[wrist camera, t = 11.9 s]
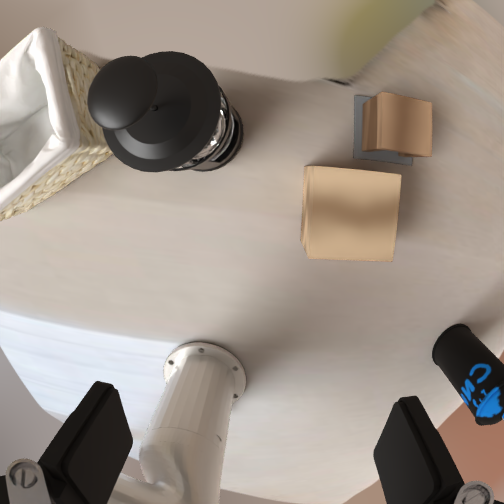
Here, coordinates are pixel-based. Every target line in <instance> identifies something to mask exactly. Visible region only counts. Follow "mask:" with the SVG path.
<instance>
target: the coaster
mask: <svg viewBox="0 0 504 504" xmlns="http://www.w3.org/2000/svg"><path fill="white" fill-rule="evenodd" d="M370 99H371V97H364V96H358V95H355V96H354V154H353V158H357V159H366V160H374V161H382V162H390V163H397V164H404V165H411V166H412V157H401V156H398V152H396V151H389V150H381V151H373V152H366V151H362V112H363V103H365V102H366V101H368V100H370Z"/></svg>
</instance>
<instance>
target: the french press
mask: <svg viewBox="0 0 504 504" xmlns="http://www.w3.org/2000/svg"><path fill="white" fill-rule="evenodd" d="M220 92H221V93H220ZM221 94H222V95H223V97H224V99H223V98H222V97H221ZM87 105H88V110H89V113H90V115H91V117H92V119H93V120H94V121H95V123H97V124H98V125H99V126H100V127H102V129H103V134H104V138H105V140H106V142H107V144H108V147H109V148H110V150H111V151H112V152H113V154H114V155H115V156H116V157H117V158H118V159H119V160H120V161H121V162H123V163H124V164H126V165H128V166H129V167H131V168H133V169H137V170H140V171H144V172H162V171H182V170H194V171H202V172H205V171H212V170H215V169H219V168H220V167H222V166H224V165H226V164H227V163H228V162H230V161H231V160H232V159H233V158H234V156H235V155H236V154H237V152H238V150H239V149H240V147H241V144H242V140H243V124H242V121H241V118H240V116H239V114H238V112H237V111H236V110H235V109H234V107H233V106H232V105H231V104H230V102H229V101H228V99H227V97H226V96H225V94H224V92H223V91H222V89H221V88H220V87H219V86H218V83H217V81H216V79H215V78H214V76H213V74H212V72H211V71H210V70H209V69H208V68H207V67H206V66H205V65H204V64H203V63H202V62H200V61H199V60H197V59H196V58H194V57H192V56H190V55H187V54H184V53H180V52H173V51H171V52H170V51H169V52H158V53H154V54H149V55H147V56H145V57H142V58H140V57H137V56H124V57H120V58H117V59H115V60H113V61H111V62H109V63H108V64H106V65H105V66H104V67H103V68H102V69H101V70H100V71H99V72H98V73H97V74H96V76H95V77H94V79H93V81H92V83H91V85H90V88H89V91H88V97H87ZM229 143H230V144H229ZM228 145H229V146H228ZM227 146H228V147H227ZM226 148H227V149H226ZM225 149H226V150H225ZM180 166H182V167H184V168H178V169H177V167H180Z"/></svg>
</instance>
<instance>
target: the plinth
mask: <svg viewBox="0 0 504 504" xmlns="http://www.w3.org/2000/svg"><path fill="white" fill-rule="evenodd" d="M400 189H401V175H400V174H392V173H384V172H376V171H367V170H357V169H347V168H335V167H323V166H304V188H303V208H302V225H301V242H302V244H303V247H304V249H305V251H306V253H307V256H308V258H309V259H333V260H359V261H386V262H392V260H393V254H394V246H395V239H396V231H397V222H398V212H399V201H400Z"/></svg>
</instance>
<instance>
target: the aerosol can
mask: <svg viewBox="0 0 504 504" xmlns="http://www.w3.org/2000/svg"><path fill="white" fill-rule="evenodd" d="M432 358H433V361H434V363H435V364H436V365H438V366H439V367H440V368H441V370H442V371H443V372H444V374H445V375H446V377H447V378H448V379H449V381H450V382H451V383H452V385H453V386H454V388H455V389H456V390H457V392H458V393H459V395H460V396H461V398H462V399H463V400H464V402H465V403H466V405H467V406H468V408H469V409H470V411H471V412H472V413H473V415H474V417H475V421H476V423H477V424H478V425H481V426H482V425H492V424H496V423H498V422H499V421H501V420H504V364H503V363H502V362H501V361H500V360H499V359H498V358H497V357H496V356H495V355H494V354H493V353H492V352H491V351H490V350H489V349H488V348H487V347H486V346H485V345H484V344H483V343H482V342H481V341H480V340H479V339H478V338H477V337H476V336H475V335H474V334H473V333H472V332H471V330H470V329H469V327H468V326H466V325H463V324H457V325H454V326H452V327H450V328H448V329H447V330H446V331H445V332H443V333H442V334H441V336H440V337H439V338H438V340H437V341H436V343H435V345H434V348H433V351H432Z"/></svg>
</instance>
